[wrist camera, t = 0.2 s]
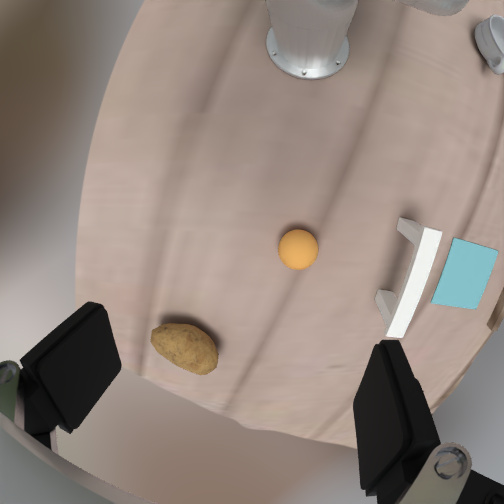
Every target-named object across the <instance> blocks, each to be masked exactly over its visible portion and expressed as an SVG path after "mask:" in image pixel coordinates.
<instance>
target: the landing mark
mask: <svg viewBox="0 0 504 504" xmlns="http://www.w3.org/2000/svg"><path fill="white" fill-rule="evenodd" d="M497 254H498V251H497V250H494V249H491V248H487V247H484V246H481V245H478V244H474V243H471V242H467V241H464V240H461V239H457V238H453V241H452V244H451V248H450V251H449V254H448V257H447V260H446V263H445V266H444V269H443V272H442V274H441V277H440V280H439V283H438V285H437V288H436V290H435V293H434V295H433V298H432V300H431V303H434V304H441V305H448V306H455V307H462V308H469V309H476V308H477V306H478V304H479V301H480V299H481V297H482V294H483V292H484V290H485V287H486V285H487V282H488V280H489V277H490V274H491V272H492V269H493V266H494V263H495V260H496V257H497Z"/></svg>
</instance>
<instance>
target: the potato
mask: <svg viewBox="0 0 504 504" xmlns="http://www.w3.org/2000/svg"><path fill="white" fill-rule="evenodd" d="M151 343H152V345H153V346H154V348H155V349H156V351H157V352H158V353H160V354H161V355H162V356H164V357H165V358H166V359H168V360H169V361H170V362H172V363H174V364H175V365H177V366H179V367H181V368H183V369H185V370H187V371H190V372H193V373H196V374H199V375H205V374H208V373H210V372H211V371H213V370H214V369H215V368H216V366H217V363H218V355H219V354H218V351H217V349H216V347H215V344H214V342H213V340H212V339H211V338H210V337H209V336H208V335H207V334H206V333H204V332H203V331H202V330H200V329H199V328H197V327H195V326H193V325H189V324H174V323H168V324H162V325H161V326H159V327H157V328H155V329H153V330H152V334H151Z"/></svg>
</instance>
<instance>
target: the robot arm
mask: <svg viewBox="0 0 504 504" xmlns="http://www.w3.org/2000/svg"><path fill="white" fill-rule="evenodd" d="M265 1H266V5H267V8H268V12H269V16H270V20H271V24H272V26H271V28H270V30H269V31H268V34H267V38H266V46H267V51H268V53H269V56H270V58H271V59H272V61H273V62H274V63H275V65H276V66H277V67H278V68H280V69H281V70H282V71H283V72H285V73H287V74H289V75H291V76H294V77H296V78H300V79H305V80H317V79H323V78H327V77H330V76H331V75H333V74H335V73H337V72H338V71H339V70H340V69H341V68H342V67H343V66H344V64H345V63H346V61H347V59H348V56H349V48H350V47H349V41H348V38H347V36H346V33H347V31H348V28H349V26H350V23H351V21H352V18H353V16H354V13H355V10H356V8H357V4H358V0H265ZM394 1H397V2H400V3H403V4H405V5H409V6H411V7H414V8H416V9H419V10H422V11H424V12H427V13H430V14H433V15H438V16H451V15H454V14H456V13H458V12H459V11H461V10H462V9H463V8H464V7H465V6H466V4H467V3H468V1H469V0H394ZM274 54H276V56H273V55H274ZM336 64H339V66H337V65H336ZM303 73H305V74H306V75H305V76H304V75H303ZM20 362H21V364H22V366H23V368H22V369H20V367H19V365H18V364H17V363H16V362H14V361H10V360H9V361H3V362H1V363H0V504H158V503H155V502H152V501H150V500H147V499H144V498H142V497H139V496H137V495H134V494H132V493H129V492H127V491H125V490H122V489H120V488H118V487H116V486H114V485H111V484H109V483H107V482H105V481H103V480H101V479H99V478H97V477H95V476H93V475H91V474H90V473H88V472H86V471H84V470H82V469H81V468H79V467H77V466H75V465H74V464H72V463H70V462H69V461H67V460H65V459H64V458H62V457H61V456H59V455H58V448H57V439H56V428H55V427H56V426H57V425H59V427H60V428H61V429H63V430H64V431H66V432H68V433H69V434H71V433H72V431H73V429H76V428H78V427H79V426H80V424H81V423H82V422H83V420H84V419H85V417H86V416H87V415H88V413H89V412H90V411H91V409H92V408H93V406H94V405H95V404H96V403H97V401H98V400H99V398H100V397H101V396H102V394H103V393H104V392H105V390H106V389H107V388H108V386H109V385H110V384H111V382H112V381H113V380H114V378H115V377H116V376H117V374H118V373H119V372H120V370H121V360H120V357H119V354H118V350H117V347H116V344H115V340H114V337H113V333H112V329H111V325H110V321H109V317H108V313H107V311H106V309H105V308H104V306H103V305H102V304H98V303H94V302H87V303H85V304H84V305H83V306H82V307H81V308H79V309H78V310H77V311H76V312H75V313H73V314H72V315H71V316H70V317H68V318H67V319H66V320H65V321H64V322H62V323H61V324H60V325H59V326H58V327H56V328H55V329H54V330H53V331H52V332H51V333H49V334H48V335H47V336H46V337H45V338H44V339H43V340H41V341H40V342H39V343H38V344H37V345H36V346H35V347H33V348H32V349H31V350H30V351H29V352H28V353H27V354H26V355H25V356H23V357H22V358H21V359H20ZM353 411H354V419H355V428H356V437H357V448H358V458H359V472H360V485H361V489H362V490H366V496H376V495H377V503H378V504H504V485H502V484H500V483H498V482H496V481H493V480H492V479H489V478H487V477H485V476H483V475H481V474H479V473H477V472H475V471H473V470H471V466H472V461H471V457H470V454H469V452H468V451H467V450H466V449H465V448H464V447H463V446H461V445H460V444H456V443H453V442H452V443H444V444H441V443H440V440H439V436H438V433H437V430H436V427H435V424H434V421H433V418H432V415H431V412H430V409H429V407H428V404H427V401H426V398H425V396H424V393H423V390H422V388H421V385H420V383H419V381H418V380H417V379H416V378H415V377H414V375H413V372H412V370H411V367H410V365H409V362H408V360H407V358H406V355H405V353H404V351H403V348H402V346H401V344H400V342H399V340H381V341H380V343H379V344H375V346H374V348H373V351H372V354H371V357H370V359H369V362H368V365H367V368H366V370H365V373H364V376H363V378H362V381H361V383H360V386H359V389H358V391H357V393H356V396H355V398H354V402H353Z"/></svg>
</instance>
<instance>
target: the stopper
mask: <svg viewBox="0 0 504 504" xmlns="http://www.w3.org/2000/svg"><path fill="white" fill-rule="evenodd" d="M503 318H504V288H503V290H502V293H501V295H500V298H499V300H498V302H497V304H496V307H495V309H494V311H493V313H492V315H491V317H490V319H489V321H488V323H487V326H488V327H489V328H490V329H491V331H497V330H498V327H499V326H500V324H501V322H502V320H503Z"/></svg>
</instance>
